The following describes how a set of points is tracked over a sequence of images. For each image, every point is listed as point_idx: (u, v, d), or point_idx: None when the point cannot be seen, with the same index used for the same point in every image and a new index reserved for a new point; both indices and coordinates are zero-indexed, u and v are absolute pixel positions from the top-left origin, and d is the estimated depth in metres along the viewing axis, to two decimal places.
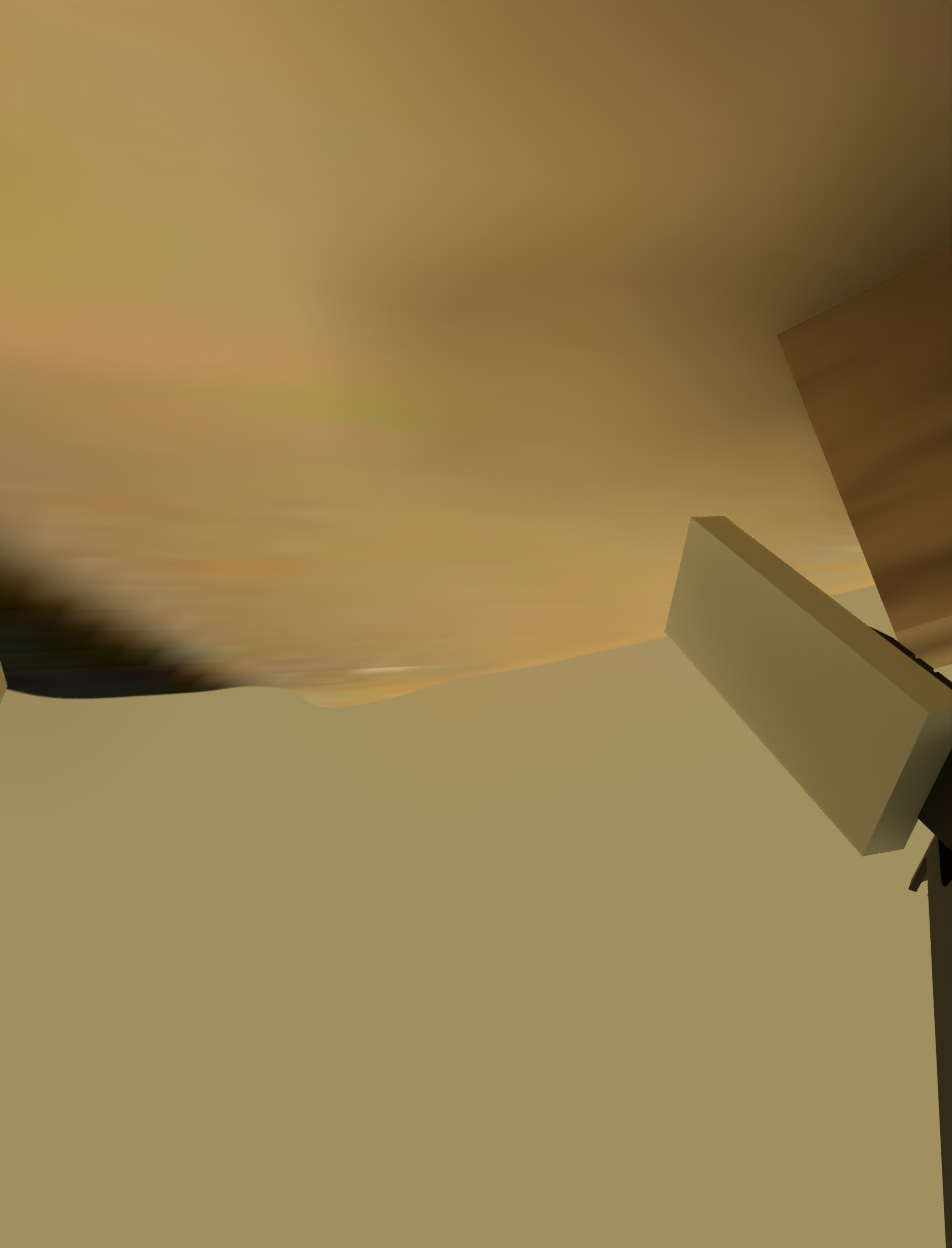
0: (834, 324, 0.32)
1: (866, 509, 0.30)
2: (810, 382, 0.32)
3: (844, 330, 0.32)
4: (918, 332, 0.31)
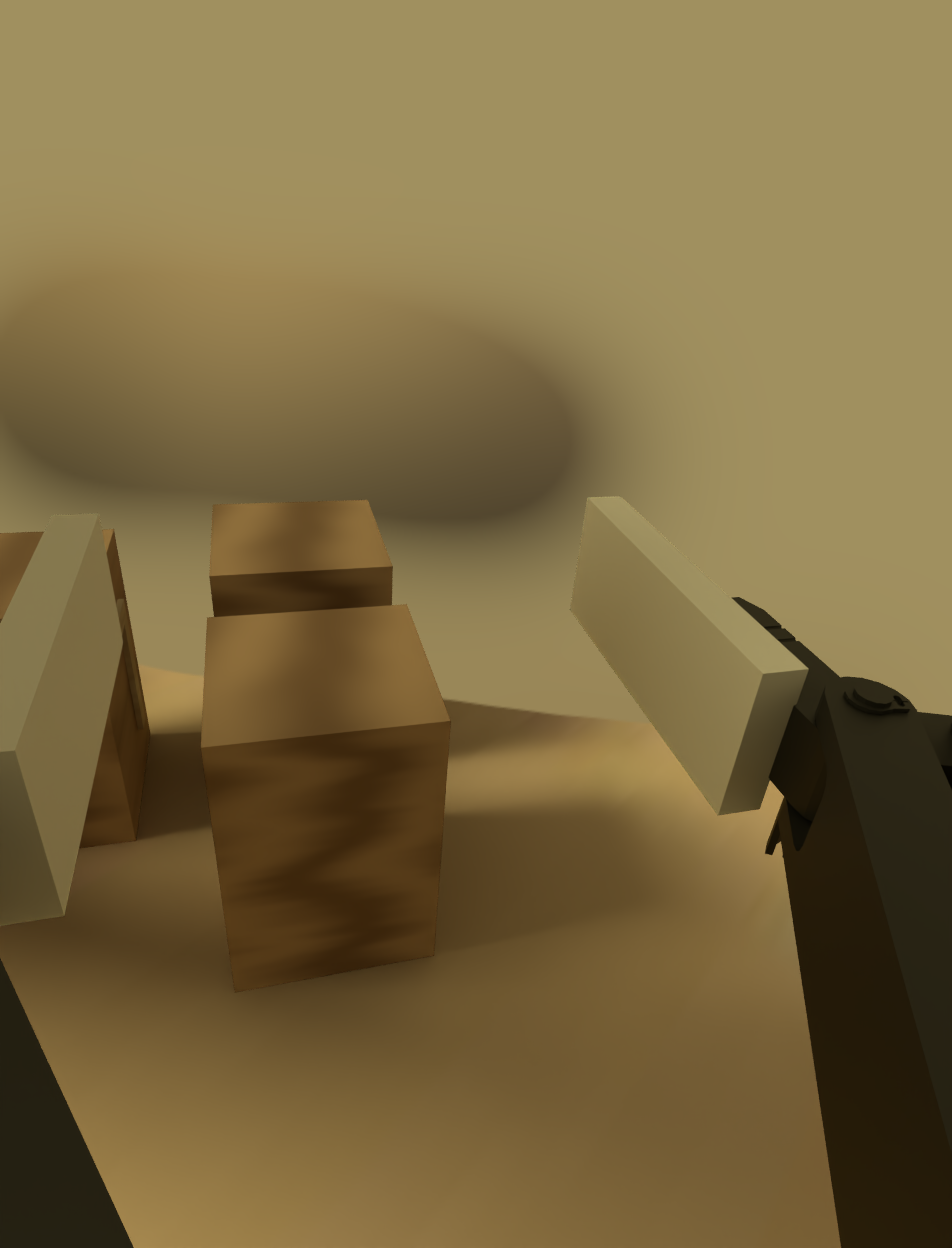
0: None
1: None
2: None
3: None
4: None
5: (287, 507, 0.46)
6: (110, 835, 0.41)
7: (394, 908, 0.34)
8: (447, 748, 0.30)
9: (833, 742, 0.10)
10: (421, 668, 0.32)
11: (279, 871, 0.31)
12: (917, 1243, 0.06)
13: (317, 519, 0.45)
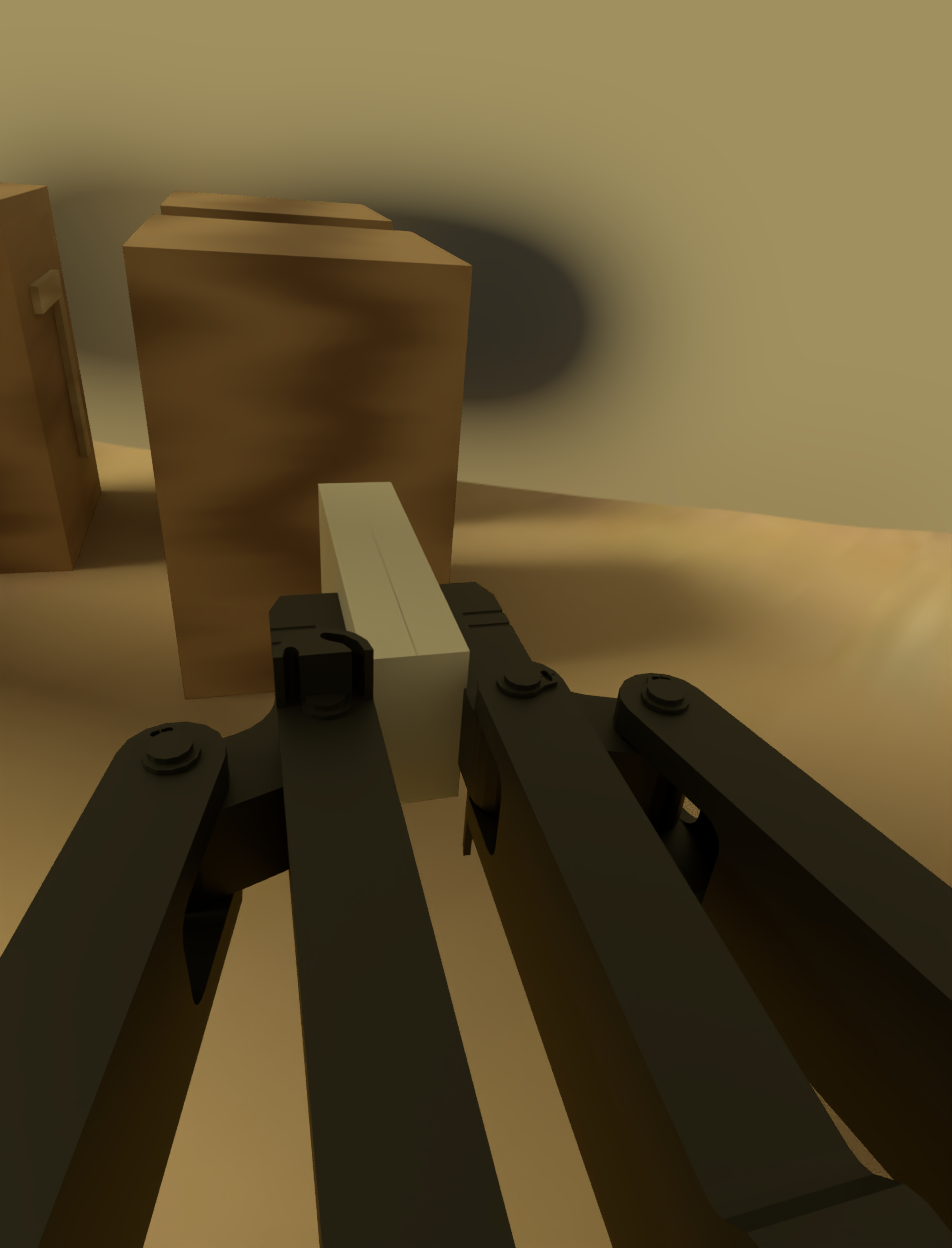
0: None
1: None
2: None
3: None
4: None
5: (265, 198, 0.38)
6: (39, 558, 0.33)
7: None
8: (466, 317, 0.22)
9: (498, 742, 0.10)
10: (431, 248, 0.24)
11: (239, 499, 0.23)
12: None
13: (301, 203, 0.37)
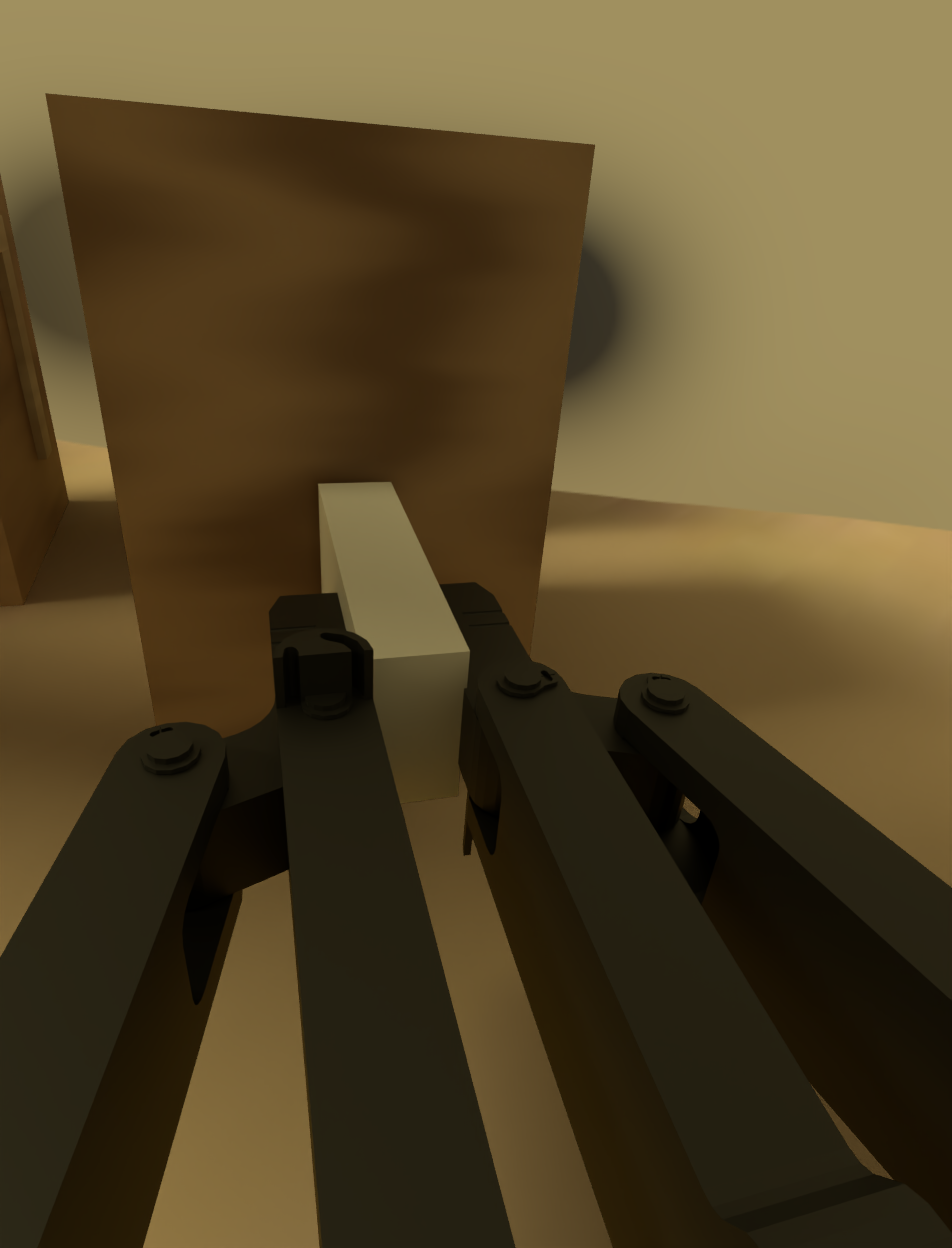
0: None
1: None
2: None
3: None
4: None
5: None
6: None
7: None
8: (581, 227, 0.15)
9: (499, 742, 0.10)
10: None
11: (241, 507, 0.16)
12: None
13: None
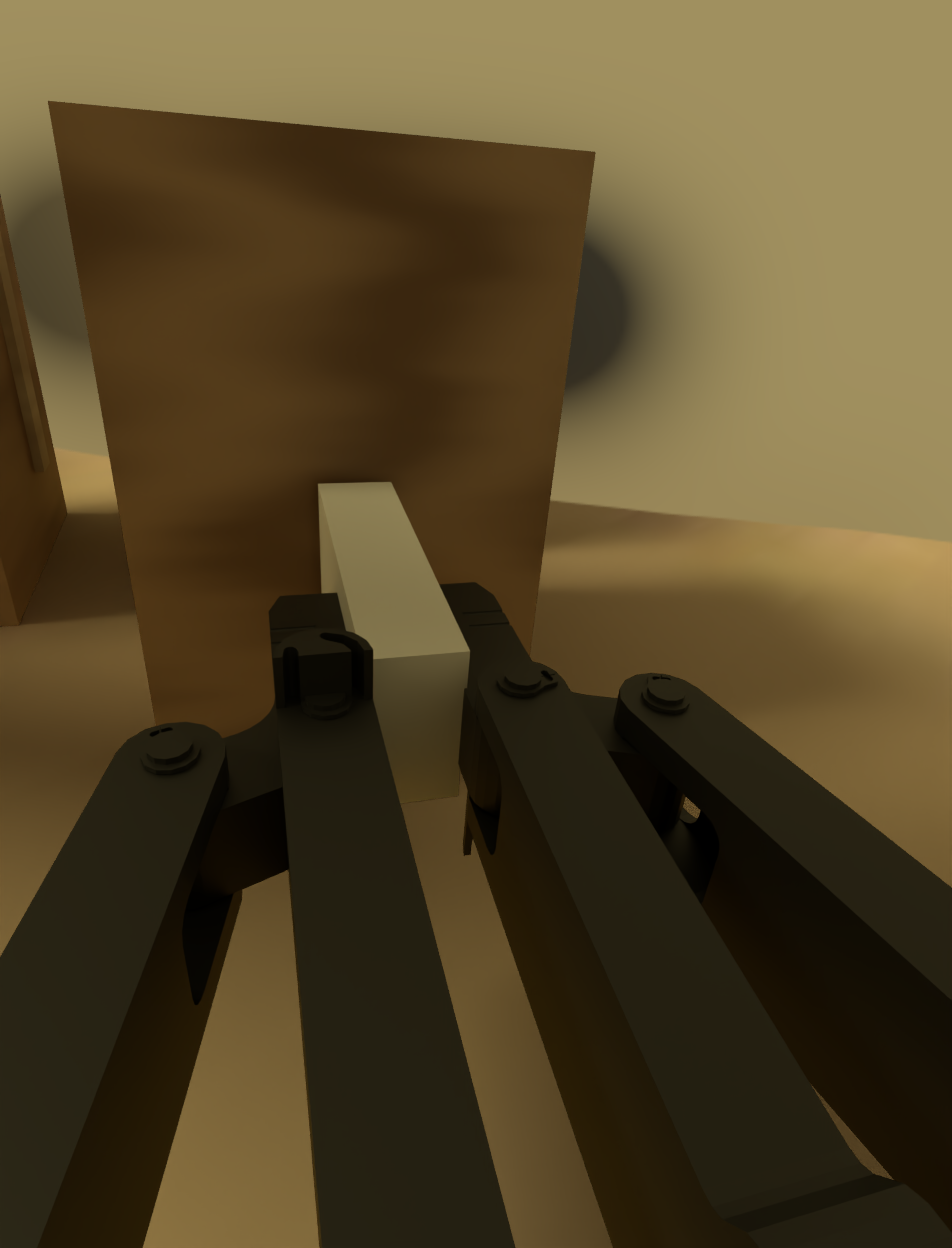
0: None
1: None
2: None
3: None
4: None
5: None
6: None
7: None
8: (582, 234, 0.15)
9: (499, 742, 0.10)
10: None
11: (241, 511, 0.16)
12: None
13: None
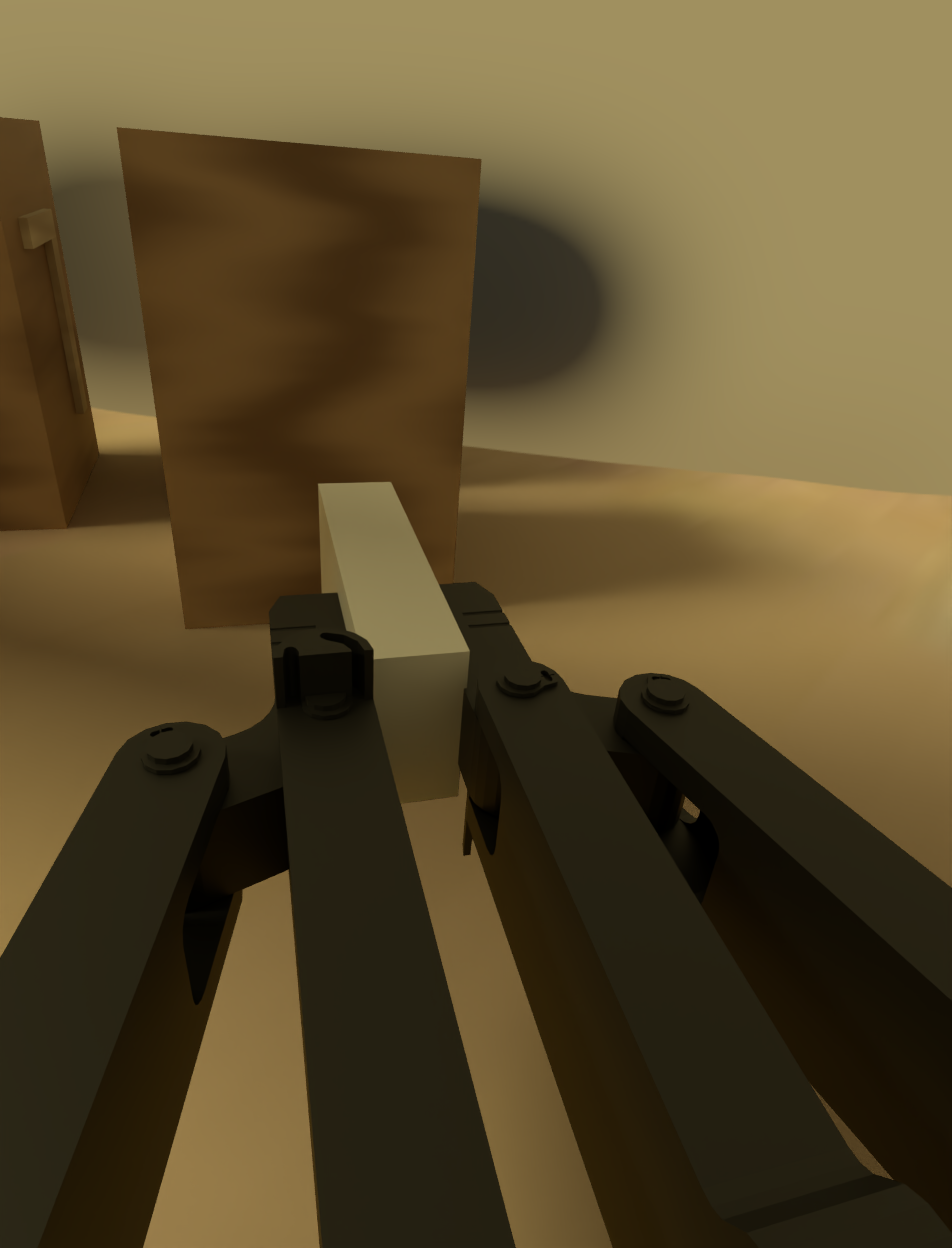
0: None
1: None
2: None
3: None
4: None
5: None
6: (31, 514, 0.31)
7: None
8: (475, 216, 0.21)
9: (498, 742, 0.10)
10: None
11: (240, 411, 0.23)
12: None
13: None
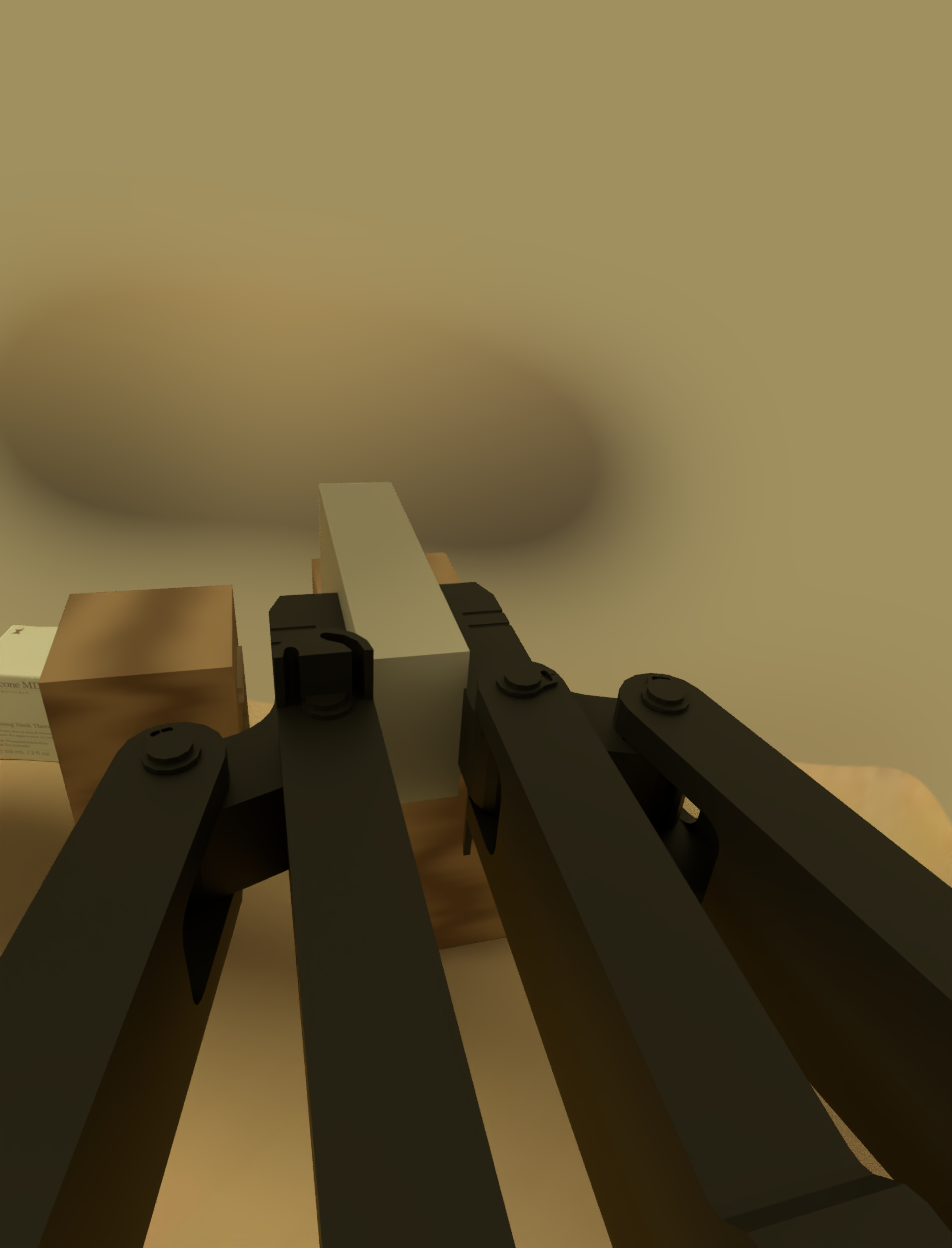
0: None
1: None
2: None
3: None
4: None
5: None
6: None
7: (485, 895, 0.41)
8: None
9: (498, 742, 0.10)
10: None
11: None
12: None
13: None
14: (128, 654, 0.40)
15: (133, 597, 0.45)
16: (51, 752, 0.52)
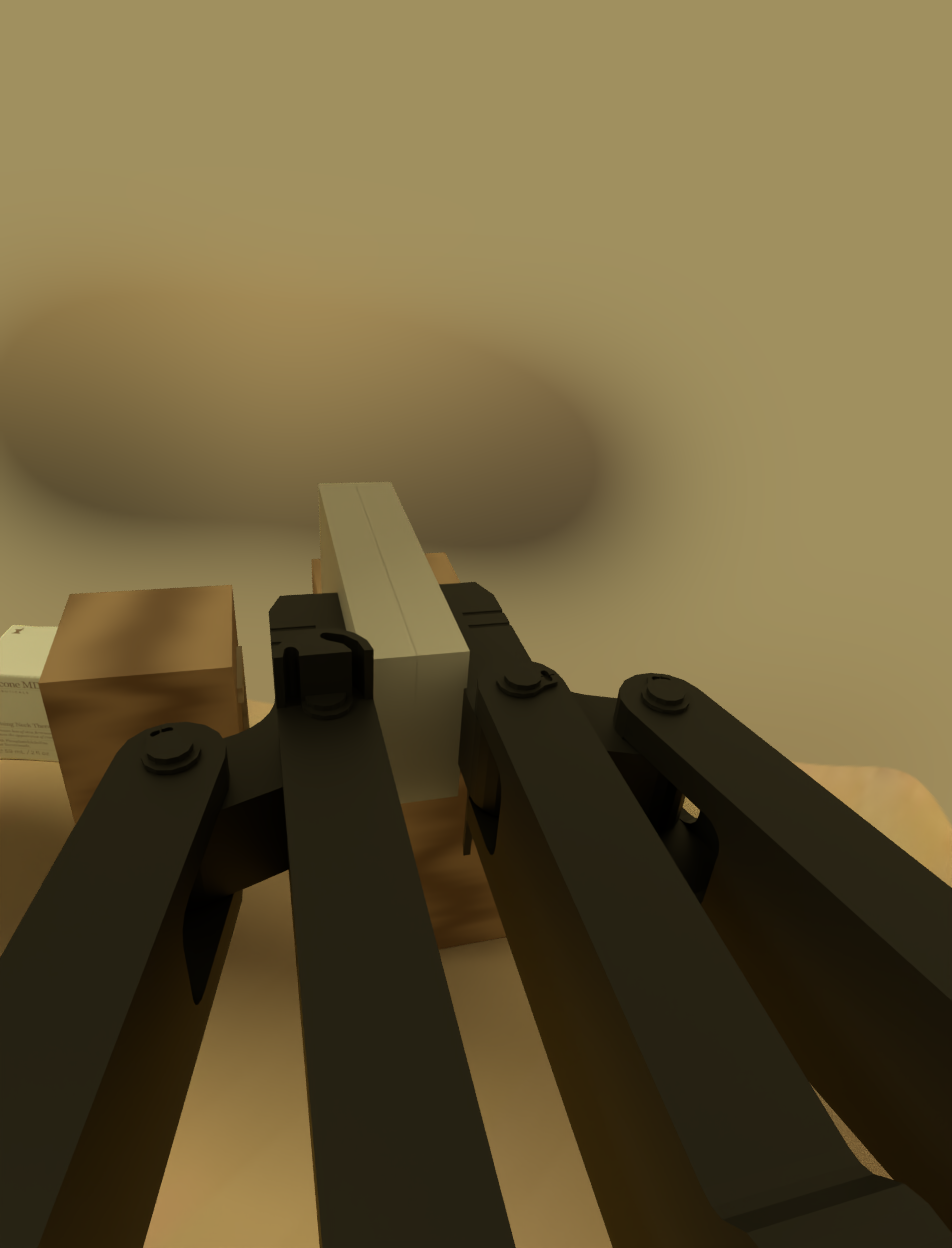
0: None
1: None
2: None
3: None
4: None
5: None
6: None
7: (485, 895, 0.41)
8: None
9: (498, 741, 0.10)
10: None
11: None
12: None
13: None
14: (128, 654, 0.40)
15: (133, 597, 0.45)
16: (51, 752, 0.53)
